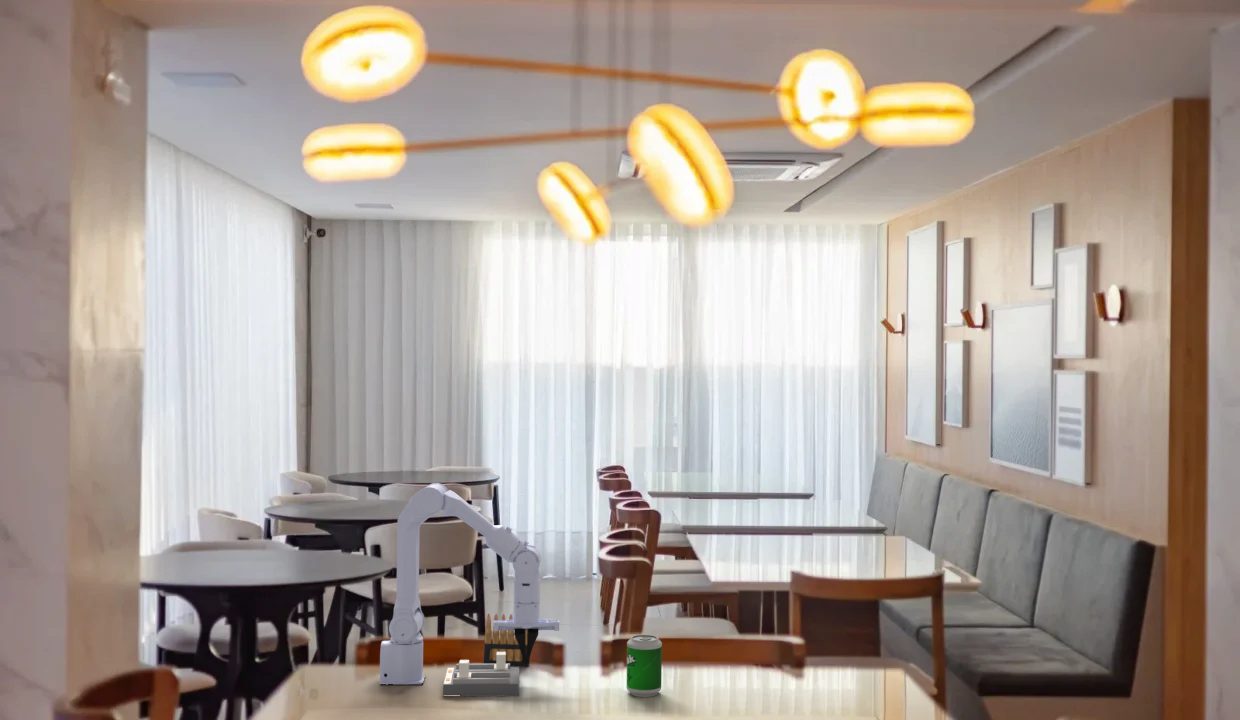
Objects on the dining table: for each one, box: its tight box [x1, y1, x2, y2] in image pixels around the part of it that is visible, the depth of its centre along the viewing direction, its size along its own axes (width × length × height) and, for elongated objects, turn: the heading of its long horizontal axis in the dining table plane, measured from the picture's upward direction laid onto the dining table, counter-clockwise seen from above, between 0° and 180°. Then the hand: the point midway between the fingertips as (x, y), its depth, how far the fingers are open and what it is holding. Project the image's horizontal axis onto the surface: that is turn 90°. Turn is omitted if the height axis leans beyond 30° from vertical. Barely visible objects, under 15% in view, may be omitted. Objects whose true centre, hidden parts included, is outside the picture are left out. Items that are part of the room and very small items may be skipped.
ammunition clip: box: [482, 613, 531, 668], centre depth 281 cm, size 11×2×12 cm, turn 86°
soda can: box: [626, 634, 663, 698], centre depth 258 cm, size 8×8×12 cm
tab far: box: [494, 651, 508, 669], centre depth 265 cm, size 3×4×4 cm
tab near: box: [457, 659, 471, 678], centre depth 257 cm, size 3×4×4 cm
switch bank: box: [442, 663, 520, 697], centre depth 261 cm, size 16×14×4 cm
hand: (526, 662), depth 265 cm, fingers closed
